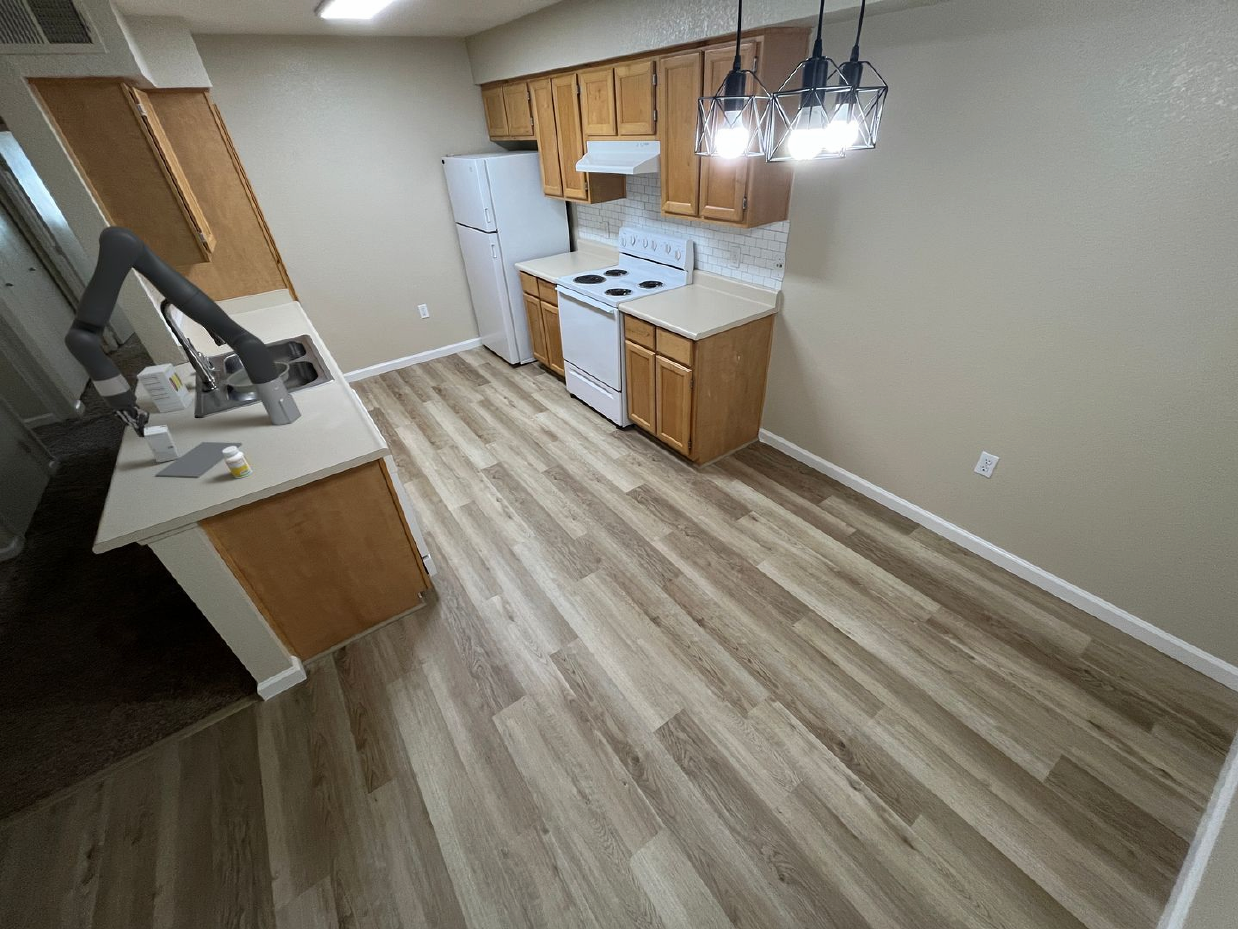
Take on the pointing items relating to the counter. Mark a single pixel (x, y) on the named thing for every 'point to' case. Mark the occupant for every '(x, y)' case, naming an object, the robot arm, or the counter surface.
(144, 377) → the supplement box
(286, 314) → the counter surface
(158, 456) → the skincare box
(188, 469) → the rubber mat
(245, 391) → the cake pan
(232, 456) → the supplement bottle
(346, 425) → the counter surface
